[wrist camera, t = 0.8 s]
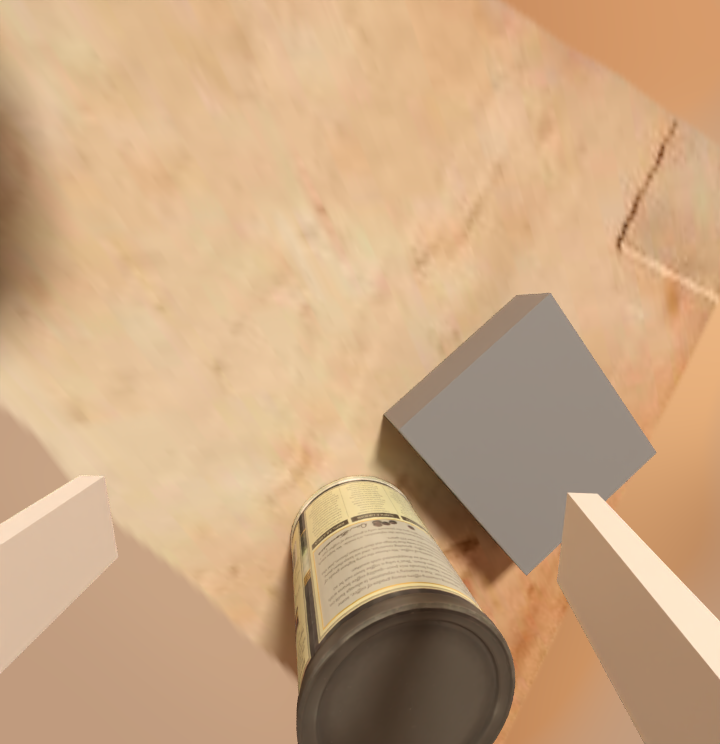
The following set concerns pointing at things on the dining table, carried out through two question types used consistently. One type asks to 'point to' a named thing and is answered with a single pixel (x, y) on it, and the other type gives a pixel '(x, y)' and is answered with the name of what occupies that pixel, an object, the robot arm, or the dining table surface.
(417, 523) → the coffee can
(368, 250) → the dining table surface
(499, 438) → the riser
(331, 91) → the dining table surface
